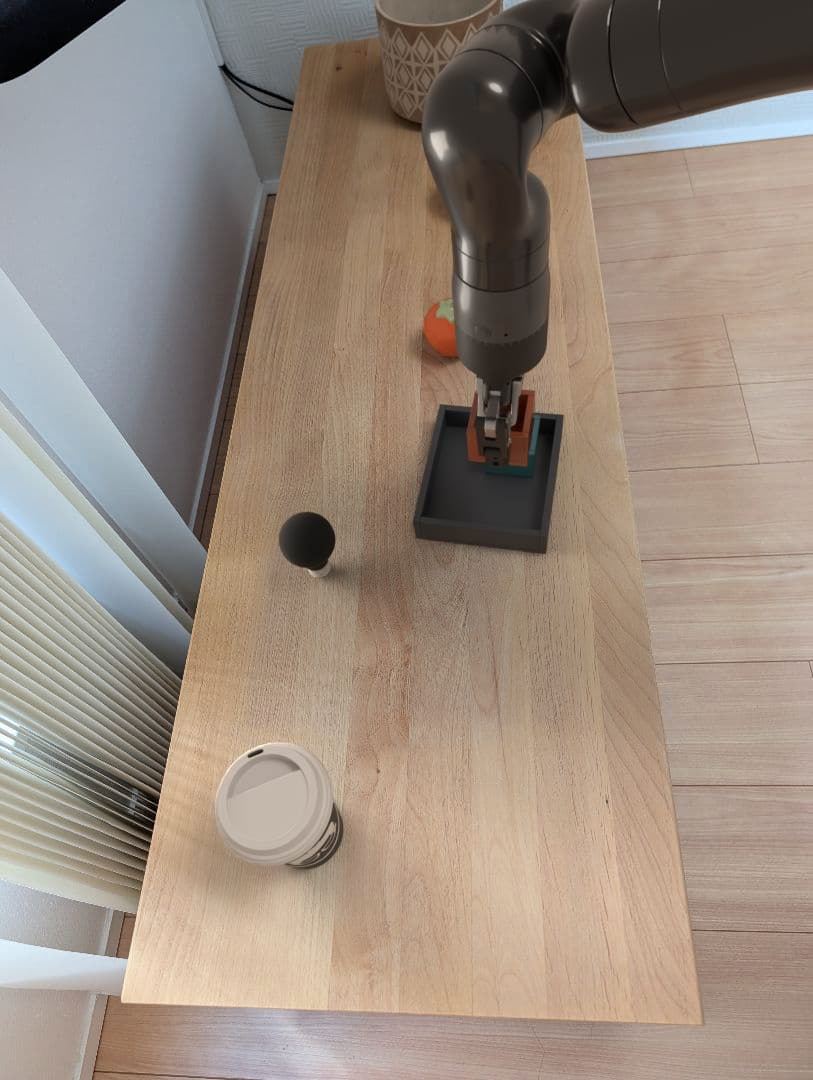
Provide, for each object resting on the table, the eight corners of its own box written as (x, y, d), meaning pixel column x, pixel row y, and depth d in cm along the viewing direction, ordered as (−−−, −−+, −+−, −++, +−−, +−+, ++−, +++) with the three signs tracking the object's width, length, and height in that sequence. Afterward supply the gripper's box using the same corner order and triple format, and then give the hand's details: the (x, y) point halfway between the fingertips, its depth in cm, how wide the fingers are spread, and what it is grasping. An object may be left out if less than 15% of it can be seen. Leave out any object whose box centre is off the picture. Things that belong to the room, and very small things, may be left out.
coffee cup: (362, 779, 75) (332, 734, 62) (356, 887, 70) (322, 863, 57) (265, 779, 76) (216, 735, 63) (253, 886, 71) (197, 861, 58)
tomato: (478, 322, 104) (476, 274, 97) (485, 363, 100) (484, 317, 93) (423, 329, 104) (417, 282, 97) (428, 371, 100) (422, 325, 94)
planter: (365, 112, 131) (347, 5, 117) (437, 55, 137) (428, -52, 123) (455, 148, 123) (448, 38, 109) (526, 86, 130) (529, -25, 116)
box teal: (539, 439, 92) (540, 415, 88) (533, 478, 90) (534, 454, 86) (492, 435, 93) (491, 410, 89) (484, 473, 91) (483, 449, 87)
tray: (562, 433, 93) (563, 414, 90) (546, 554, 85) (547, 537, 82) (442, 423, 96) (439, 403, 93) (415, 538, 88) (412, 521, 85)
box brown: (533, 420, 77) (535, 390, 73) (526, 466, 74) (527, 437, 70) (477, 415, 78) (476, 385, 74) (468, 461, 75) (466, 432, 71)
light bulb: (337, 599, 85) (318, 555, 77) (288, 589, 86) (263, 544, 78) (353, 554, 88) (337, 506, 79) (305, 544, 89) (284, 496, 81)
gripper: (538, 378, 57) (532, 503, 72) (558, 245, 64) (549, 384, 78) (437, 371, 59) (451, 495, 73) (468, 241, 65) (475, 378, 80)
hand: (502, 437), depth 76 cm, fingers closed on box brown, 5 cm apart
